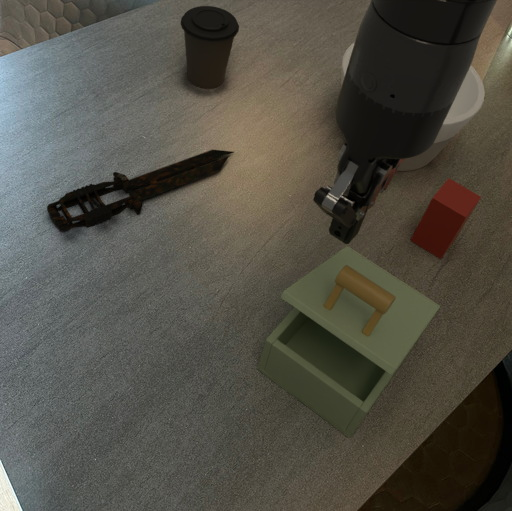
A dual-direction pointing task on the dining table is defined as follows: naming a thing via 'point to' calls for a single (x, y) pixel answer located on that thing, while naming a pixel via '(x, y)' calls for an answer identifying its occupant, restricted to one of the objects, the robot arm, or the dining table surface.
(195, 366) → the dining table surface
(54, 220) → the knife
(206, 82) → the coffee cup
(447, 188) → the block
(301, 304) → the lid
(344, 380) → the chest
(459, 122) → the bowl
